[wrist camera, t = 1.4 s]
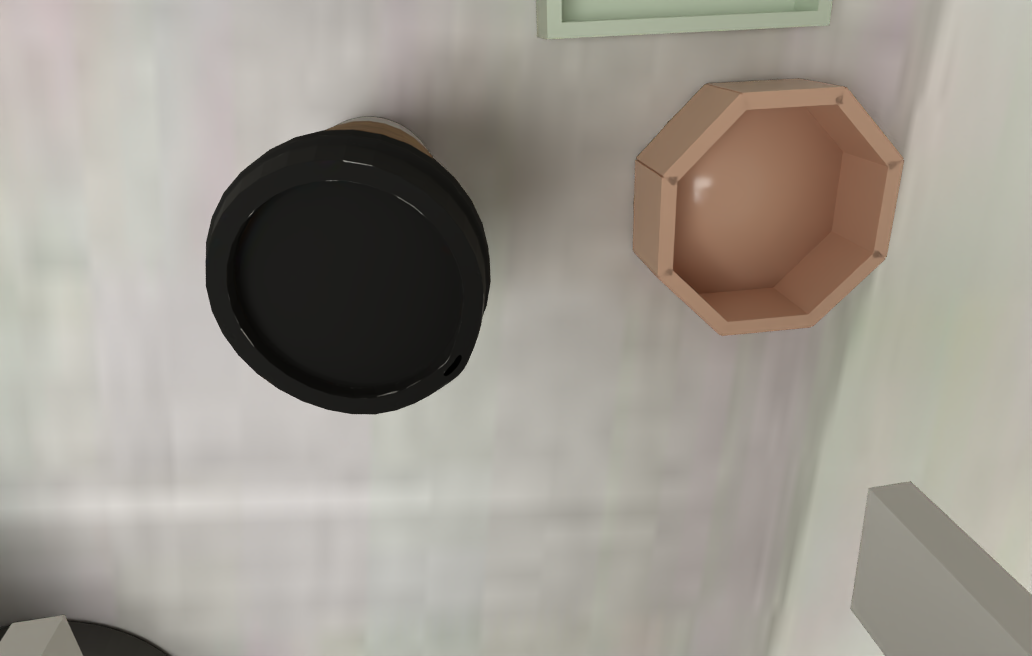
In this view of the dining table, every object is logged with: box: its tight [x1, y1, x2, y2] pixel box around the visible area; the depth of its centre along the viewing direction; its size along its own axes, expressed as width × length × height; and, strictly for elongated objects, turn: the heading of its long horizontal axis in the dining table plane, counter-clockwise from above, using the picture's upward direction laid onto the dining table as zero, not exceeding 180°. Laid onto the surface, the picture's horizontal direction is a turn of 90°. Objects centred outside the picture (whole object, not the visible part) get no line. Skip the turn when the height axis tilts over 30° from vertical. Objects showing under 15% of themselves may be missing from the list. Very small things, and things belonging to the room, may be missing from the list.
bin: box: [633, 78, 904, 336], centre depth 34 cm, size 11×11×4 cm
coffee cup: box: [206, 117, 491, 414], centre depth 27 cm, size 8×8×15 cm
